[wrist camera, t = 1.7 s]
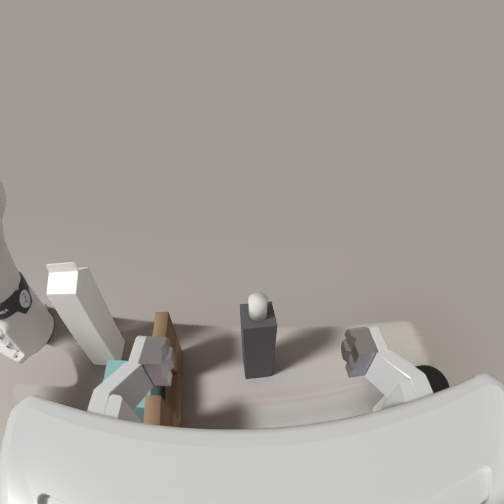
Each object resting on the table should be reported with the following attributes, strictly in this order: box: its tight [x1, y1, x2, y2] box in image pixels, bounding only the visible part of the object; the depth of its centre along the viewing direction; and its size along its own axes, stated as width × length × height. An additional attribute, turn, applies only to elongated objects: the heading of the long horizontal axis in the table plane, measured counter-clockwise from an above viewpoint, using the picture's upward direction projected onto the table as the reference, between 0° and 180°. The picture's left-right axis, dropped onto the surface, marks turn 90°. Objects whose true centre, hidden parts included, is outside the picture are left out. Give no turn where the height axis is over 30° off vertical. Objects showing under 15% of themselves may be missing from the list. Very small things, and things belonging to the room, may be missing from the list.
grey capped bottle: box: [240, 293, 277, 379], centre depth 39 cm, size 4×4×17 cm
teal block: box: [103, 360, 165, 423], centre depth 35 cm, size 8×8×7 cm
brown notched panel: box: [144, 312, 183, 427], centre depth 34 cm, size 2×20×12 cm, turn 7°
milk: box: [46, 262, 125, 365], centre depth 38 cm, size 6×6×22 cm
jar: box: [372, 365, 449, 412], centre depth 29 cm, size 9×8×12 cm
